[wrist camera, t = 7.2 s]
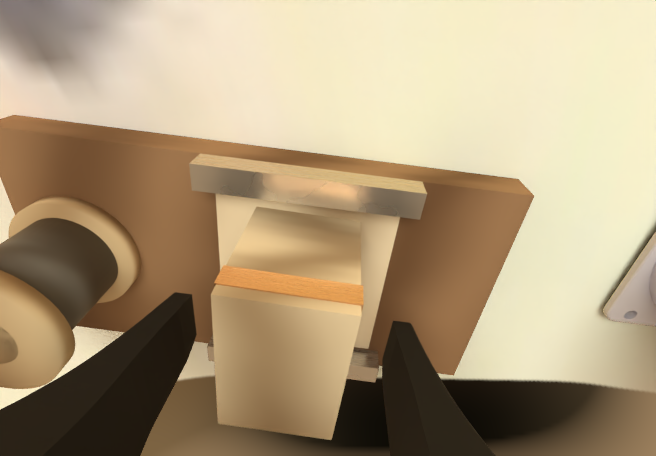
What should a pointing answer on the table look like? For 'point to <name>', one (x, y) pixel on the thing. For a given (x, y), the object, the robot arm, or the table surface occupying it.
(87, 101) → the table surface
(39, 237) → the spool
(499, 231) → the brown rectangular board
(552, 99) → the table surface
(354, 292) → the block
